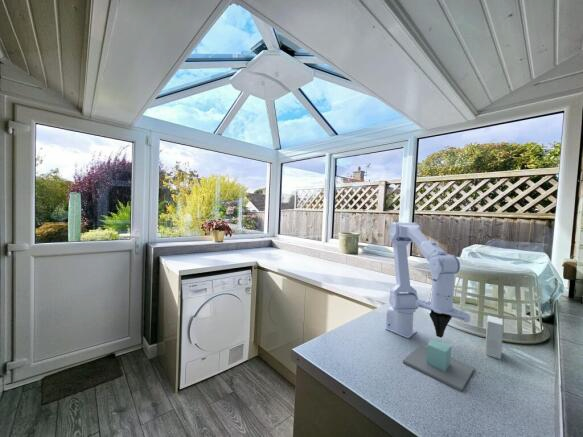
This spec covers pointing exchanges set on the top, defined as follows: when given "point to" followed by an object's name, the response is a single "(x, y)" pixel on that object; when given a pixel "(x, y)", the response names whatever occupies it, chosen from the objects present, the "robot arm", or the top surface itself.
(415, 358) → the post board
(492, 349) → the skincare box
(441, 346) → the mint green cube
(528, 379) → the top surface
